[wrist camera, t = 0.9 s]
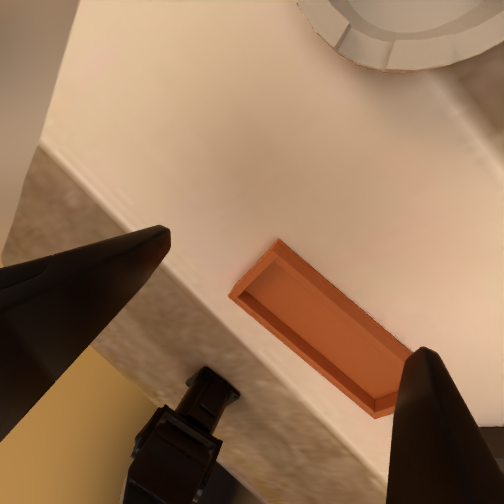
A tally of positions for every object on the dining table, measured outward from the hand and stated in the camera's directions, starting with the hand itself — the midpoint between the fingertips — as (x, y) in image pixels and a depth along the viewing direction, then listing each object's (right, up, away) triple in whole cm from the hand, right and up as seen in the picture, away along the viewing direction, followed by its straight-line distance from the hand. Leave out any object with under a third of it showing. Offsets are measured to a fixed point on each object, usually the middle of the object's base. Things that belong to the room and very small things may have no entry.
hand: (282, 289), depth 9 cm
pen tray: (+7, -6, +18) cm, 20 cm away
